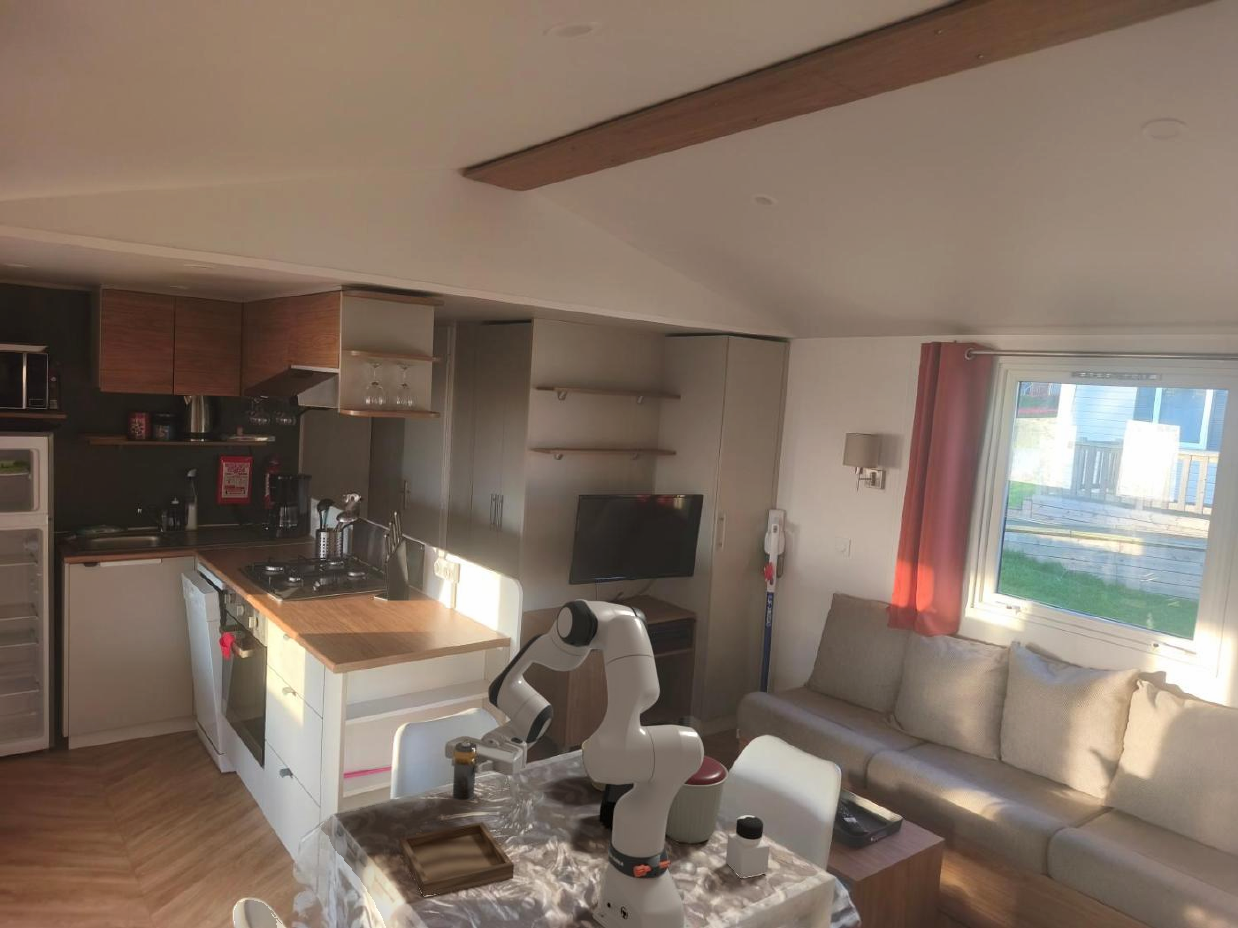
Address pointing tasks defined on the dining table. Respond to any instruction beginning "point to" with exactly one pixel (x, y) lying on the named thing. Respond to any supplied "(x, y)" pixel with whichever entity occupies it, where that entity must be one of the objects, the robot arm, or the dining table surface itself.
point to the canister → (697, 804)
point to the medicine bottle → (747, 847)
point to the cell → (464, 770)
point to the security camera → (611, 802)
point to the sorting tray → (455, 859)
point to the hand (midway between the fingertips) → (464, 766)
